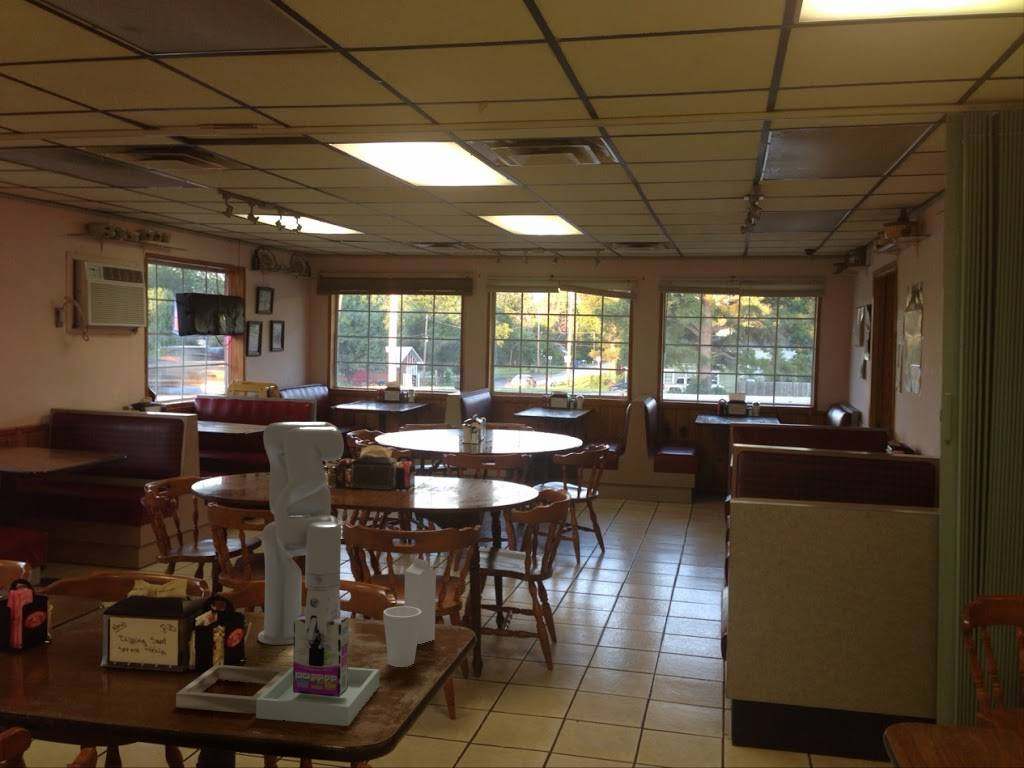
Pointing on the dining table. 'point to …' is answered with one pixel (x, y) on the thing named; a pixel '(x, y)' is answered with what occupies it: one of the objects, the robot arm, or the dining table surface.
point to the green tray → (318, 700)
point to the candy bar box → (335, 668)
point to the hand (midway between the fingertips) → (321, 660)
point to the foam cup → (401, 634)
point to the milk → (422, 596)
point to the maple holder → (221, 702)
